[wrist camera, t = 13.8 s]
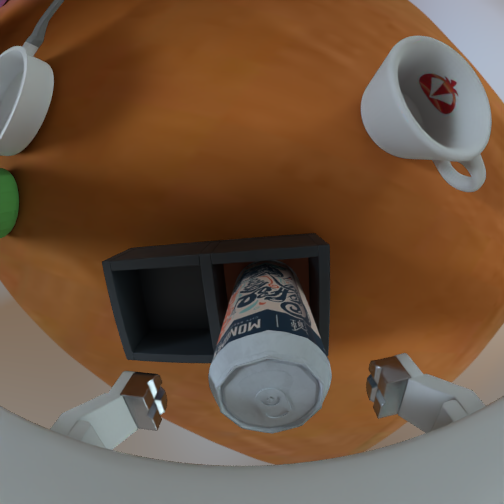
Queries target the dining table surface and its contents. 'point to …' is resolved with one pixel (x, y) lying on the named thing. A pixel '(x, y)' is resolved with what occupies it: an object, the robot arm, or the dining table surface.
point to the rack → (202, 291)
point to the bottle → (8, 202)
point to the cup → (430, 109)
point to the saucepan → (24, 89)
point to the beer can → (269, 353)
